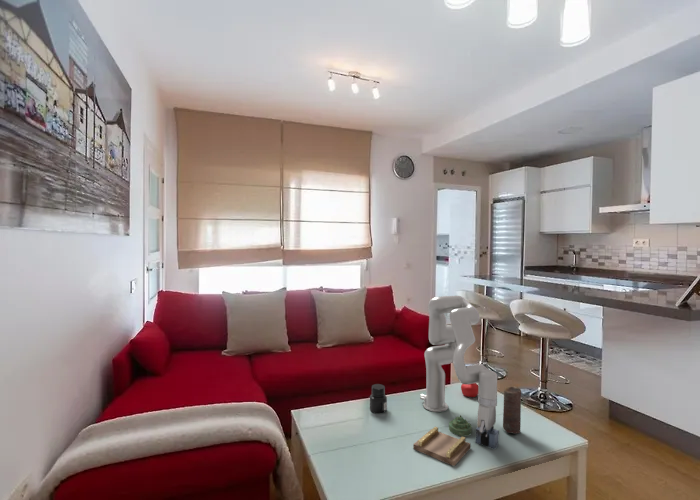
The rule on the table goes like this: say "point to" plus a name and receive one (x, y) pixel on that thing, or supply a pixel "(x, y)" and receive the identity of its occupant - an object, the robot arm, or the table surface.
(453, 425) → the decorative artifact
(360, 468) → the table surface
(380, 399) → the ink bottle
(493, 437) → the block
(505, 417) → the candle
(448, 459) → the channel stand
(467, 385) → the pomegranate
